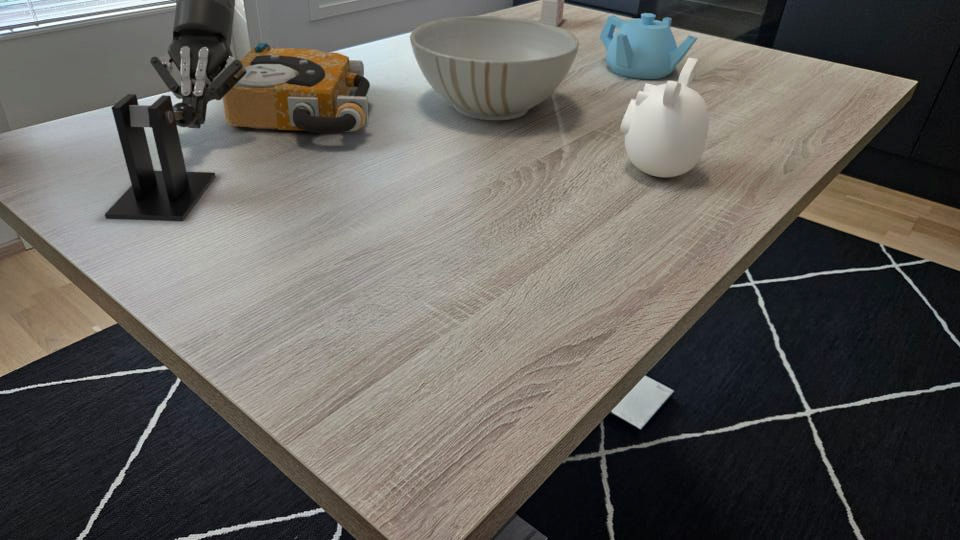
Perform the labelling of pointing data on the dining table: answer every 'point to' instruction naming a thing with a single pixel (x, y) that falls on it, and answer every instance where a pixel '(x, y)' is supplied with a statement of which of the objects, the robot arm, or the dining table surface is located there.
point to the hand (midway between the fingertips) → (191, 125)
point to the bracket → (153, 190)
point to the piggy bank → (666, 126)
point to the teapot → (643, 47)
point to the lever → (182, 112)
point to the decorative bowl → (493, 62)
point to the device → (298, 91)
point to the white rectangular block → (552, 12)
